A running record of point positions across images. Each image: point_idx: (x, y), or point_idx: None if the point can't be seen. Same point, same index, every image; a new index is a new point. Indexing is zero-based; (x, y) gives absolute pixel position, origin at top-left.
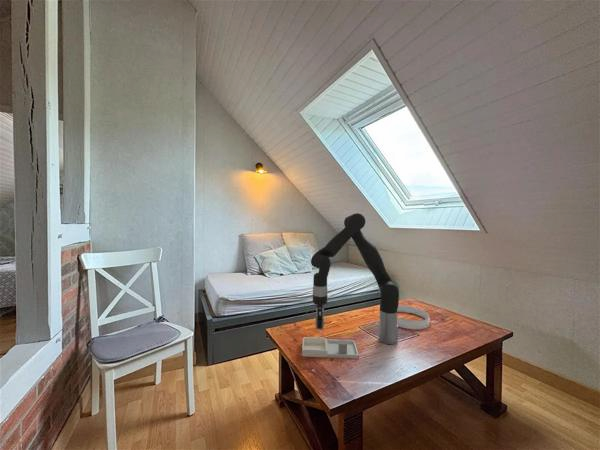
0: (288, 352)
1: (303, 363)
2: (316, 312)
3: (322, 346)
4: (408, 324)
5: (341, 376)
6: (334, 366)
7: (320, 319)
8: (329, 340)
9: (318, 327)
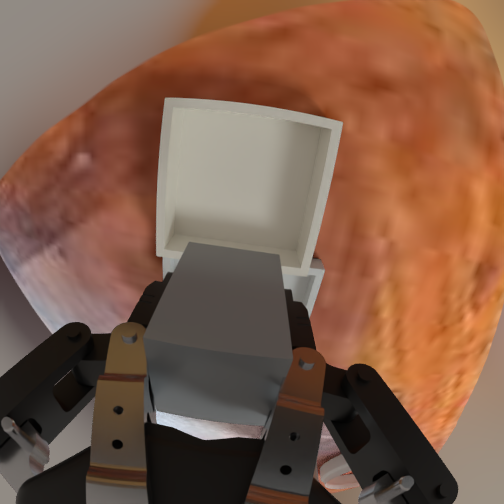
0: (236, 27)
1: (124, 110)
2: (276, 407)
3: (272, 233)
4: (332, 468)
5: (66, 266)
6: (112, 256)
7: (74, 375)
8: (311, 284)
9: (151, 284)
